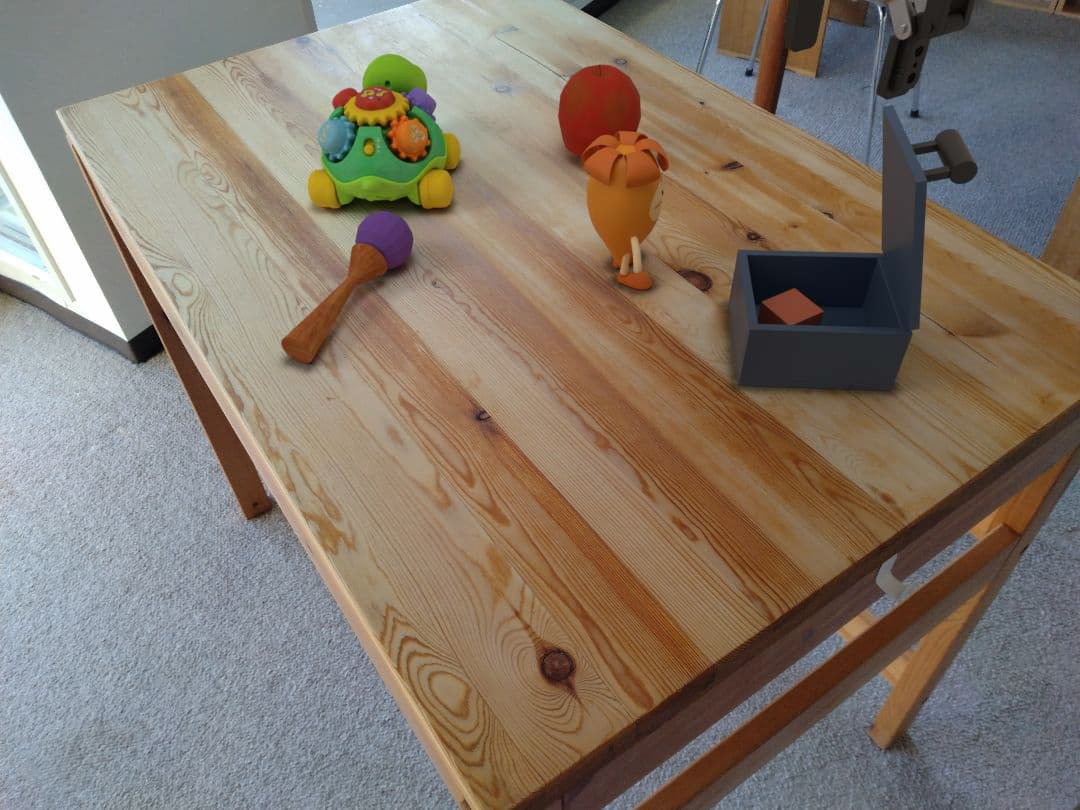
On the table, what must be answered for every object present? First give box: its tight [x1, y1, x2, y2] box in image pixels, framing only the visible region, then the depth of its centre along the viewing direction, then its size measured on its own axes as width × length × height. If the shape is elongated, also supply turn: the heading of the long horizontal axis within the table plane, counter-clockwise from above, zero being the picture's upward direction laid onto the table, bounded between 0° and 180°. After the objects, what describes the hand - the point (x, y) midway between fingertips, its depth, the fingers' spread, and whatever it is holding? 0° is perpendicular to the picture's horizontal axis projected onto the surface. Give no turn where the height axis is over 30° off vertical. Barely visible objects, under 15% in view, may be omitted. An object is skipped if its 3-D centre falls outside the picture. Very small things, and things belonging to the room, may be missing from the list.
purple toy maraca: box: [280, 210, 414, 364], centre depth 85 cm, size 6×6×20 cm
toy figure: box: [580, 131, 670, 291], centre depth 84 cm, size 12×8×15 cm
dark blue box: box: [727, 249, 914, 392], centre depth 78 cm, size 14×12×7 cm
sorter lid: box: [881, 104, 979, 331], centre depth 70 cm, size 14×12×5 cm
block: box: [758, 288, 824, 326], centre depth 79 cm, size 4×4×4 cm
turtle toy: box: [307, 53, 462, 210], centre depth 100 cm, size 17×23×12 cm
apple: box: [557, 64, 642, 160], centre depth 102 cm, size 10×10×12 cm
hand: (843, 70), depth 55 cm, fingers open, 8 cm apart
